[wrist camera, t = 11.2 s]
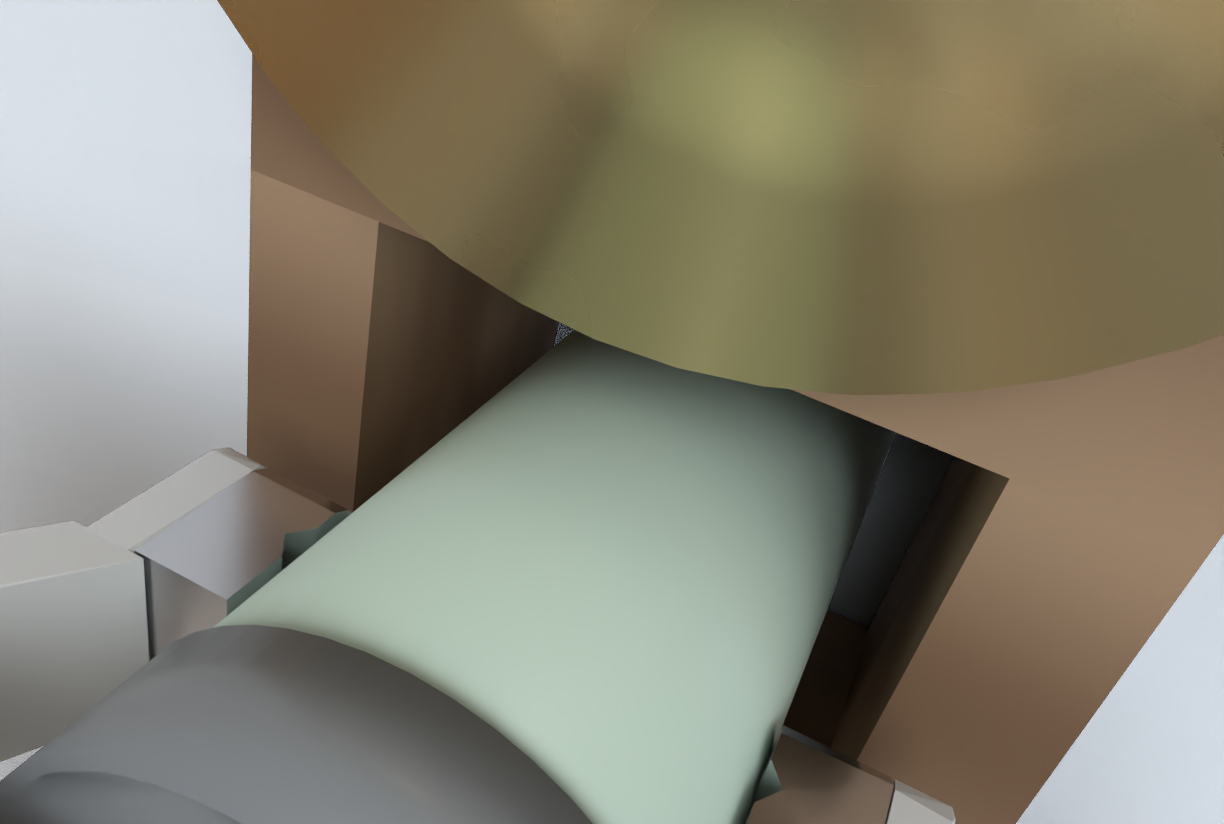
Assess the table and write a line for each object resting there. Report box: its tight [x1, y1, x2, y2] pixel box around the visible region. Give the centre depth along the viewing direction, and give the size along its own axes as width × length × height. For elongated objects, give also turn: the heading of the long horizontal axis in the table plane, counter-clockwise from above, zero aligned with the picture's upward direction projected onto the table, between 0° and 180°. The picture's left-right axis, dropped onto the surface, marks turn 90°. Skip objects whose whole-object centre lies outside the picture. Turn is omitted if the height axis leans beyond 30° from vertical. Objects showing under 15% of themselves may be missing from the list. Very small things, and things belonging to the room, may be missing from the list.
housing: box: [247, 53, 1224, 824], centre depth 10 cm, size 16×9×5 cm, turn 167°
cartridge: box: [0, 330, 896, 824], centre depth 10 cm, size 5×5×10 cm
